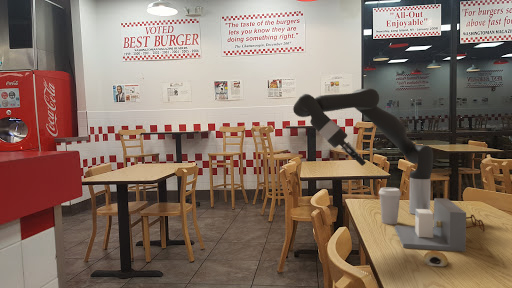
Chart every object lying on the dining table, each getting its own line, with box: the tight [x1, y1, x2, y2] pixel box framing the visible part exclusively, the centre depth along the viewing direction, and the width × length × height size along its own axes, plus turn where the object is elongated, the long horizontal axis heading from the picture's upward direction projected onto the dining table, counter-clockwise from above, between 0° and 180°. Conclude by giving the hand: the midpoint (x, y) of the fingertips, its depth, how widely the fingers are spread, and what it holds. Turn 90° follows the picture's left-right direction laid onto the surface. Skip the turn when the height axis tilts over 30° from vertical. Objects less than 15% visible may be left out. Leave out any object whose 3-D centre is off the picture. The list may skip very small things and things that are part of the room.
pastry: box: [423, 250, 449, 268], centre depth 120 cm, size 9×7×4 cm
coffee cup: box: [378, 187, 402, 225], centre depth 166 cm, size 10×10×15 cm
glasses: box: [466, 214, 486, 232], centre depth 157 cm, size 13×13×5 cm
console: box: [394, 197, 467, 252], centre depth 142 cm, size 24×20×14 cm
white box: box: [414, 209, 434, 238], centre depth 142 cm, size 7×5×9 cm
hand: (364, 164), depth 150 cm, fingers closed
